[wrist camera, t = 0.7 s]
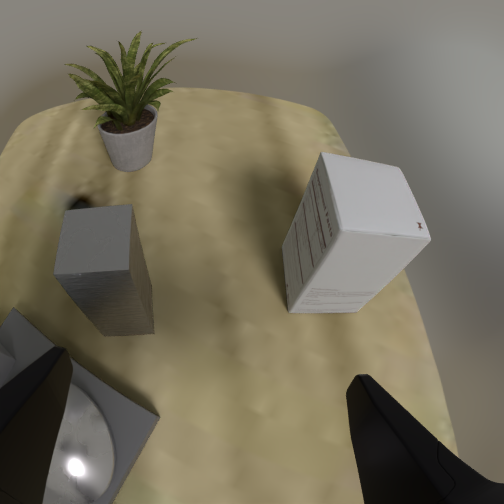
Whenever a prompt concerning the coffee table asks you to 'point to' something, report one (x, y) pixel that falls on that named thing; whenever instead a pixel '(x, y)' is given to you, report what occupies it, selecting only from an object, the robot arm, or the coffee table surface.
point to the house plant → (126, 104)
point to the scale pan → (81, 453)
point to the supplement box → (350, 235)
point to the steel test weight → (106, 269)
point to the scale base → (107, 398)
